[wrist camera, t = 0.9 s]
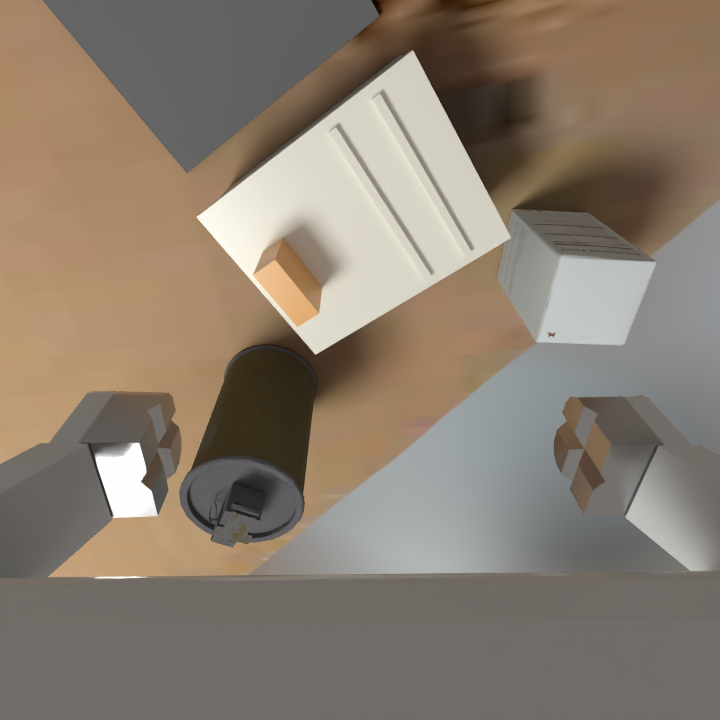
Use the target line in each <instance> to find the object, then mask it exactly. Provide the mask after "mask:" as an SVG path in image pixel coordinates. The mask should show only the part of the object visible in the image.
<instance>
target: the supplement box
mask: <svg viewBox="0 0 720 720" xmlns="http://www.w3.org/2000/svg"><path fill="white" fill-rule="evenodd" d="M507 231H508V233H509V235H510V237H511V238H510V239H508V240H507V241H505V243H504V248H503V253H502V257H501V262H500V267H499V271H498V276H497V280H498V282H499V283H500V285H501V286H502V288H503V290H504V291H505V293H506V295H507V296H508V298H509V299H510V301H511V303H512V304H513V306H514V307H515V309H516V311H517V312H518V314H519V315H520V317H521V319H522V320H523V322H524V324H525V325H526V327H527V328H528V330H529V332H530V333H531V335H532V336H533V338H534V340H535V341H536V342H551V343H575V344H603V345H604V344H605V345H624V344H625V341H626V339H627V336H628V333H629V331H630V328H631V326H632V323H633V321H634V318H635V316H636V313H637V310H638V308H639V306H640V303H641V301H642V298H643V296H644V293H645V291H646V288H647V285H648V283H649V281H650V278H651V276H652V273H653V271H654V268H655V266H656V263H657V262H656V261H655V260H653V259H652V258H651V257H649V256H648V255H646V254H645V253H644V252H642V251H641V250H640V249H638V248H637V247H635V246H634V245H633V244H631V243H630V242H628V241H627V240H625V239H624V238H622V237H621V236H620V235H618V234H617V233H616V232H614V231H613V230H612V229H610V228H609V227H607V226H606V225H604V224H603V223H602V222H600V221H599V220H598V219H596V218H595V217H593V216H592V215H591V214H589V213H587V212H565V211H545V210H524V209H512V212H511V216H510V220H509V225H508V229H507Z"/></svg>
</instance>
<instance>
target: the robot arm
mask: <svg viewBox="0 0 720 720" xmlns="http://www.w3.org/2000/svg"><path fill="white" fill-rule="evenodd" d="M175 410H176V409H175V405H174V401H173V397H172V396H171V395H170V394H169V393H158V392H123V391H119V392H116V391H92V392H90V393H87V394H86V395H85V397H84V398H83V399H82V400H81V402H80V403H79V404H78V406H77V407H76V408H75V410H74V411H73V412H72V414H71V415H70V416H69V417H68V419H67V420H66V421H65V423H64V424H63V425H62V427H61V428H60V429H59V431H58V432H57V433H56V434H55V436H54V437H53V438H52V440H51V441H50V442H49V443H40V444H38V445H36V446H34V447H32V448H31V449H29V450H27V451H25V452H23V453H21V454H19V455H17V456H15V457H13V458H11V459H9V460H8V461H6V462H4V463H2V464H0V720H720V455H718V454H716V453H714V452H712V451H710V450H708V449H706V448H704V447H702V446H692V445H691V444H690V442H689V441H688V440H687V439H686V438H685V437H684V436H683V435H682V434H681V433H680V432H679V431H678V429H677V428H676V427H675V426H674V425H673V424H672V423H671V422H670V421H669V420H668V419H667V418H666V417H665V415H664V414H663V413H662V412H661V411H660V410H659V409H658V408H657V407H656V406H655V405H654V404H653V403H652V401H651V400H650V399H649V398H646V397H644V396H642V395H641V396H617V397H570V398H569V399H568V401H567V402H566V404H565V407H564V410H563V414H564V416H565V418H566V420H567V422H565V423H564V424H563V425H562V426H561V427H560V428H558V429H557V432H556V436H555V440H554V456H555V460H556V463H557V466H558V468H559V470H560V472H561V473H562V474H563V475H565V476H566V477H568V478H569V479H571V480H572V481H573V482H572V485H571V488H570V490H571V492H572V494H573V496H574V498H575V499H576V501H577V503H578V505H579V507H580V509H581V510H582V512H583V514H586V515H626V518H627V519H628V520H629V521H630V522H632V523H633V524H634V525H635V526H636V527H638V528H639V529H640V530H641V531H643V532H644V533H645V534H646V535H647V536H649V537H650V538H651V539H652V540H654V541H655V542H656V543H657V544H658V545H660V546H661V547H662V548H663V549H665V550H666V551H667V552H668V553H669V554H671V555H672V556H673V557H674V558H676V559H677V560H678V561H679V562H680V563H682V564H683V565H684V566H685V567H687V568H688V569H689V570H690V571H666V572H664V571H661V572H660V571H659V572H658V571H657V572H560V573H558V572H555V573H554V572H551V573H440V574H439V573H438V574H437V573H435V574H348V575H347V574H344V575H343V574H340V575H242V576H140V577H48V576H49V575H50V574H51V573H53V572H54V571H55V570H56V569H57V568H58V567H59V566H60V565H62V564H63V563H64V562H65V561H66V560H67V559H68V558H70V557H71V556H72V555H73V554H74V553H75V552H76V551H77V550H79V549H80V548H81V547H82V546H83V545H84V544H85V543H87V542H88V541H89V540H90V539H91V538H92V537H93V536H94V535H96V534H97V533H98V532H99V531H100V530H101V529H102V528H104V527H105V526H106V525H107V524H108V523H109V522H110V521H111V520H112V517H144V516H158V515H159V512H160V510H161V507H162V505H163V502H164V500H165V497H166V495H167V492H168V485H167V480H166V479H168V478H169V477H171V476H172V475H173V474H175V472H176V470H177V467H178V464H179V460H180V454H181V435H180V430H179V427H178V426H177V425H176V424H175V423H174V422H173V421H171V419H172V417H173V415H174V413H175Z"/></svg>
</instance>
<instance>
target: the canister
mask: <svg viewBox="0 0 720 720" xmlns="http://www.w3.org/2000/svg"><path fill="white" fill-rule="evenodd" d="M316 391H317V382H316V379H315V375H314V372H313V370H312V369H311V367H310V366H309V364H308V363H307V362H306V361H305V360H304V359H303V358H302V357H301V356H299V355H298V354H296V353H294V352H292V351H290V350H288V349H284V348H281V347H277V346H270V345H261V346H255V347H251V348H248V349H246V350H244V351H242V352H240V353H238V354H237V355H236V356H235V357H234V358H233V359H232V360H231V361H230V363H229V364H228V366H227V368H226V371H225V374H224V383H223V385H222V388H221V391H220V393H219V396H218V399H217V401H216V404H215V407H214V409H213V412H212V415H211V418H210V420H209V423H208V426H207V428H206V431H205V434H204V436H203V439H202V442H201V444H200V447H199V450H198V452H197V455H196V458H195V460H194V463H193V466H192V468H191V471H190V472H188V473H187V475H186V477H185V478H184V480H183V482H182V484H181V488H180V491H179V495H180V502H181V506H182V508H183V510H184V512H185V514H186V516H187V517H188V518H189V519H190V520H191V521H192V522H193V523H194V524H195V525H196V526H198V527H199V528H201V529H202V530H203V531H205V532H207V533H209V534H211V535H212V538H211V541H212V542H216V543H219V544H223V545H226V546H230V547H233V546H234V545H235V543H236V542H241V543H245V544H248V543H249V542H261V541H266V540H272V539H275V538H277V537H280V536H282V535H283V534H285V533H287V532H288V531H290V530H291V529H292V528H293V527H294V526H295V525H296V524H297V523H298V521H299V520H300V519H301V517H302V514H303V511H304V504H305V503H304V496H303V490H304V481H305V473H306V464H307V455H308V446H309V437H310V428H311V420H312V411H313V402H314V398H315V396H316Z"/></svg>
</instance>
